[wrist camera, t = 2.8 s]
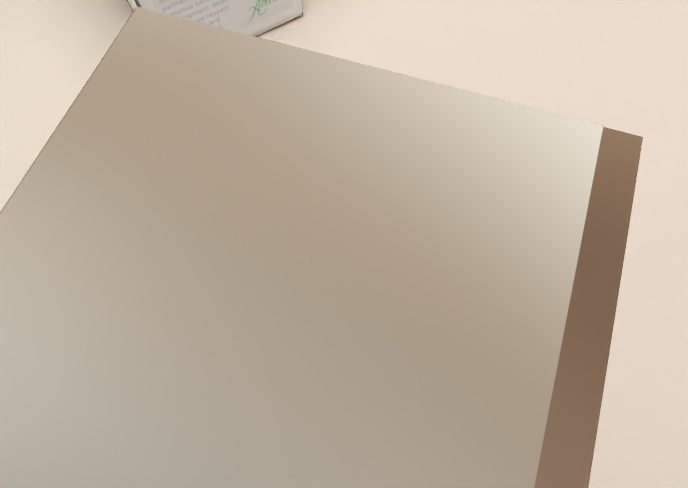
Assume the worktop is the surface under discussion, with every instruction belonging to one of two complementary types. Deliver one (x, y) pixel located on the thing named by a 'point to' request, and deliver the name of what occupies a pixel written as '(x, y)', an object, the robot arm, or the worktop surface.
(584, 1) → the worktop surface
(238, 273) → the wooden square pillar
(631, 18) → the worktop surface
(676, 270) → the worktop surface
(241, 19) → the syrup box
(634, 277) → the worktop surface
